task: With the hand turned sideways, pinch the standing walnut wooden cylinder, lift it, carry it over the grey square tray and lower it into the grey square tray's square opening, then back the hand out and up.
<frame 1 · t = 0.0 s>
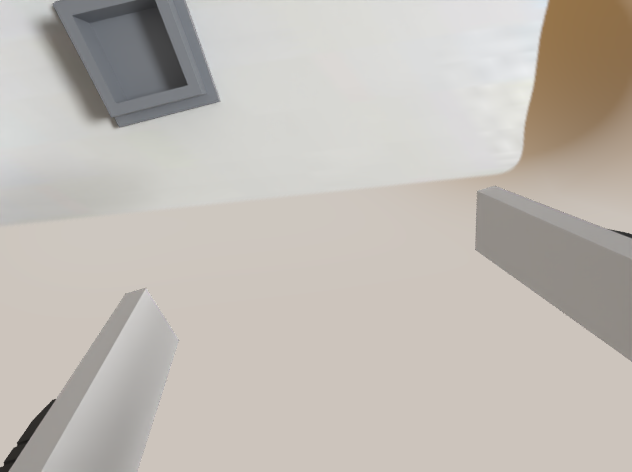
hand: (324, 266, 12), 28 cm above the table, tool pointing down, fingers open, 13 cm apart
grey square tray: (148, 57, 30), on the table
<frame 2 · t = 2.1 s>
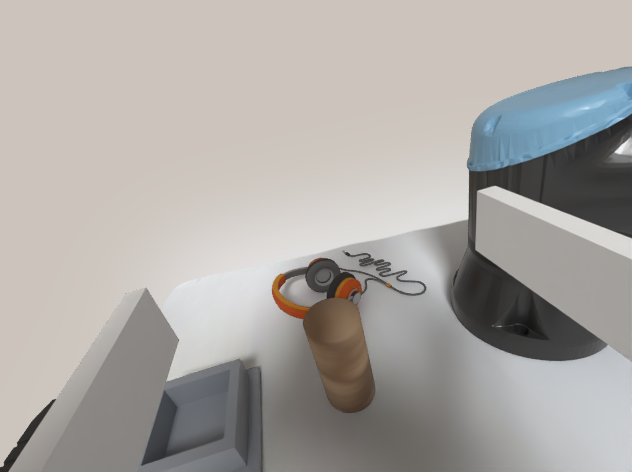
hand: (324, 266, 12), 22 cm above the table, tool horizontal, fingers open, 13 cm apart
grey square tray: (207, 435, 29), on the table
headphones: (344, 294, 44), on the table
walnut cylinder: (350, 388, 30), on the table
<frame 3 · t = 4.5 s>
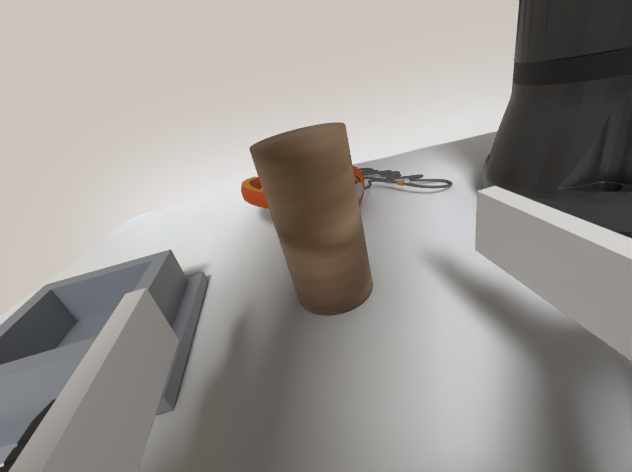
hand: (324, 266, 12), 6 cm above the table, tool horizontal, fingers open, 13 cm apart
grey square tray: (111, 354, 19), on the table
headphones: (340, 204, 33), on the table
walnut cylinder: (334, 288, 20), on the table
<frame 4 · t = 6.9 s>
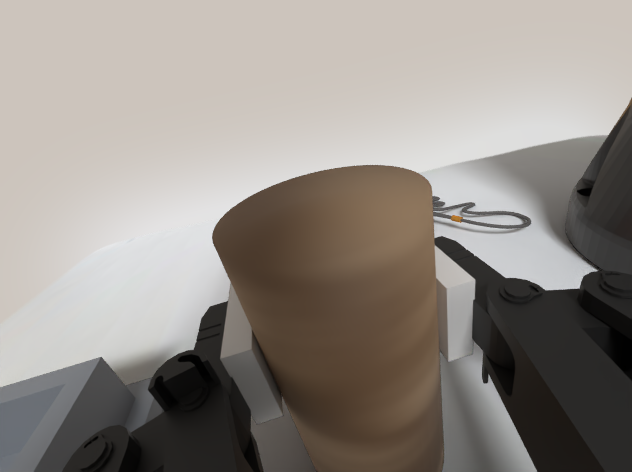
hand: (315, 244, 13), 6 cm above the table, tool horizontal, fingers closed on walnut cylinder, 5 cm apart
headphones: (370, 245, 24), on the table
walnut cylinder: (374, 435, 11), on the table, touching gripper
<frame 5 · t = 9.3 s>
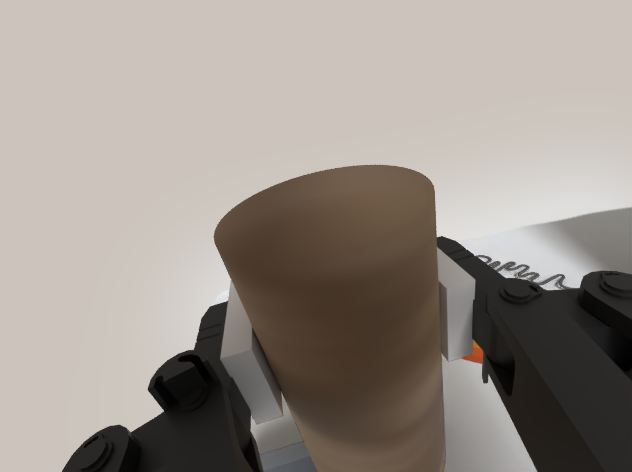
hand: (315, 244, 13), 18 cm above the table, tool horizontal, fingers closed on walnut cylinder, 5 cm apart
headphones: (489, 314, 31), on the table
walnut cylinder: (375, 435, 11), point 12 cm above the table, touching gripper
when the fingers open (9 cm above the table, at t = 11.6 s): walnut cylinder drops 2 cm, resting on grey square tray.
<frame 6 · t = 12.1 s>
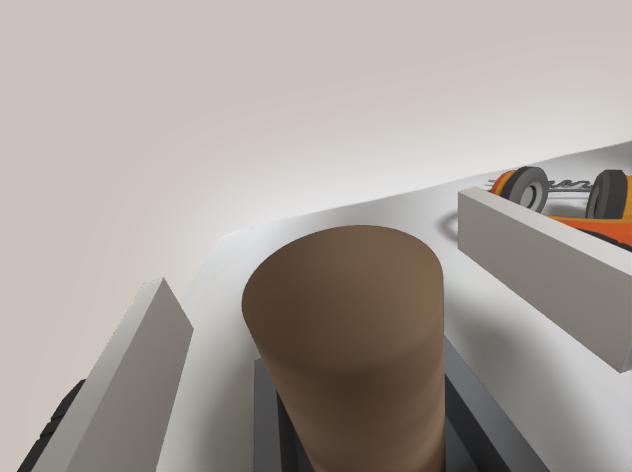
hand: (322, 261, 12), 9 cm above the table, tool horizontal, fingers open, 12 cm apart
headphones: (562, 225, 26), on the table
walnut cylinder: (380, 462, 12), point 1 cm above the table, touching grey square tray
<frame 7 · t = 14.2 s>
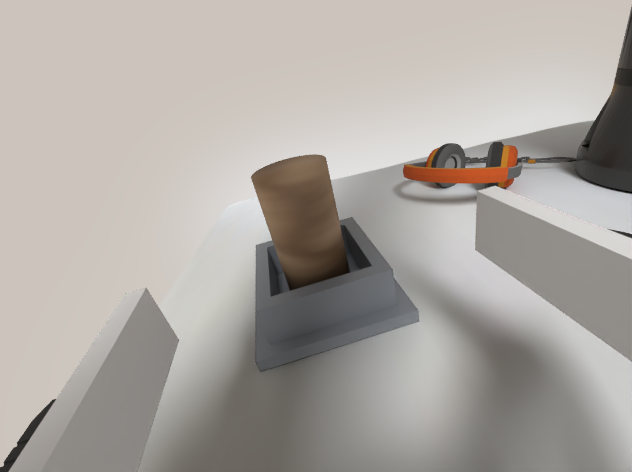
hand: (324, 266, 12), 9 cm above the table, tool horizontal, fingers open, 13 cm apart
grey square tray: (324, 295, 24), on the table
headphones: (475, 184, 37), on the table
walnut cylinder: (321, 286, 24), point 1 cm above the table, touching grey square tray
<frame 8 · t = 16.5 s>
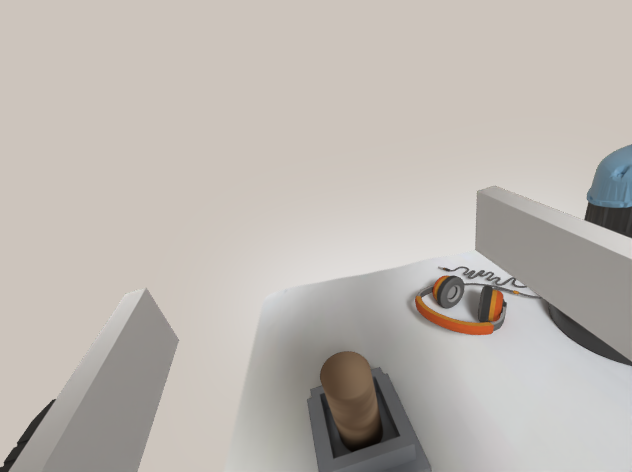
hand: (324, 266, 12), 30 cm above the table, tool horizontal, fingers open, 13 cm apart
grey square tray: (361, 433, 34), on the table
headphones: (471, 306, 47), on the table
walnut cylinder: (360, 429, 34), point 1 cm above the table, touching grey square tray
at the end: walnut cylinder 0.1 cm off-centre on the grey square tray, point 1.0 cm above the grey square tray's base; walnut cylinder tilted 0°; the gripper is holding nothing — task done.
